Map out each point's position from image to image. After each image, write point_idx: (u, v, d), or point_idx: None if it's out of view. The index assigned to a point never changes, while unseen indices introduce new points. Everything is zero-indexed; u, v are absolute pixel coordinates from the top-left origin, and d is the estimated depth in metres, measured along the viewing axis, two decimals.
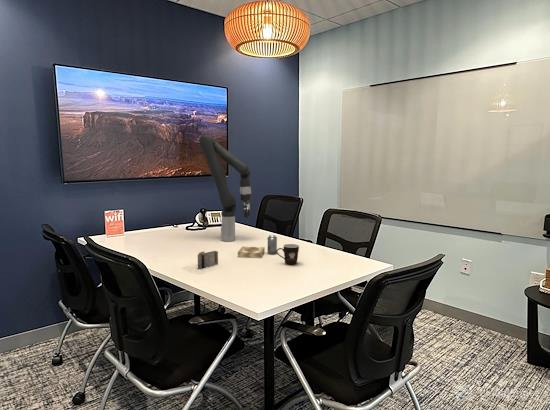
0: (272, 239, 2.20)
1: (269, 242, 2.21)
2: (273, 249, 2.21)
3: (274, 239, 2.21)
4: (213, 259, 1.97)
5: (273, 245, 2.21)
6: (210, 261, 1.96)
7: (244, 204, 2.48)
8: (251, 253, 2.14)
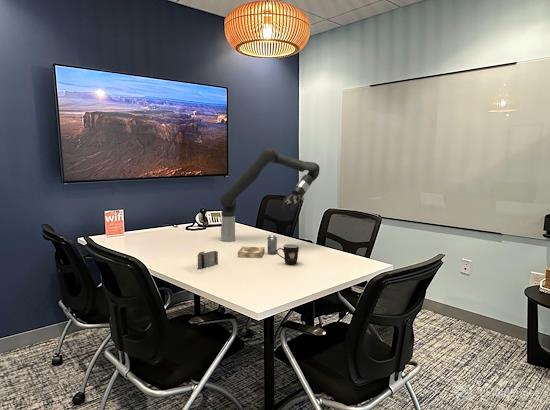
0: (272, 239, 2.20)
1: (269, 242, 2.21)
2: (273, 249, 2.21)
3: (274, 239, 2.21)
4: (213, 259, 1.97)
5: (273, 245, 2.21)
6: (210, 260, 1.96)
7: (302, 198, 2.26)
8: (251, 253, 2.14)
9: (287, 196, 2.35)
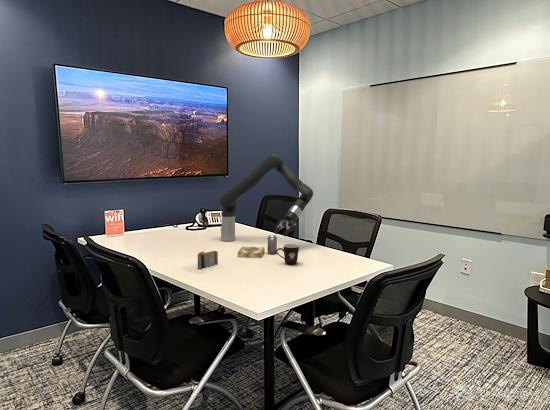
0: (272, 239, 2.20)
1: (269, 242, 2.21)
2: (273, 249, 2.21)
3: (274, 239, 2.21)
4: (213, 259, 1.97)
5: (273, 245, 2.21)
6: (210, 261, 1.96)
7: (295, 224, 2.24)
8: (251, 253, 2.14)
9: (280, 221, 2.33)
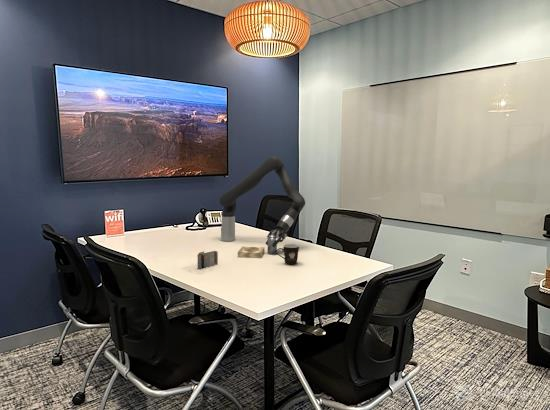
0: (272, 239, 2.20)
1: (269, 242, 2.21)
2: (273, 249, 2.21)
3: (274, 239, 2.21)
4: (213, 259, 1.97)
5: None
6: (210, 261, 1.96)
7: (285, 235, 2.20)
8: (251, 253, 2.14)
9: (271, 231, 2.29)
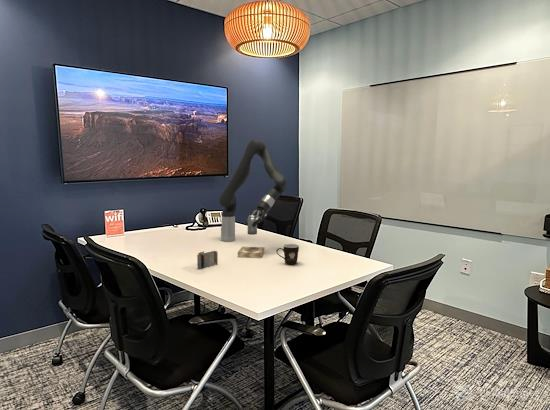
0: (252, 219, 2.16)
1: (249, 222, 2.17)
2: (253, 229, 2.17)
3: (254, 219, 2.16)
4: (213, 259, 1.97)
5: None
6: (210, 261, 1.95)
7: (265, 215, 2.16)
8: (251, 253, 2.14)
9: (251, 212, 2.25)
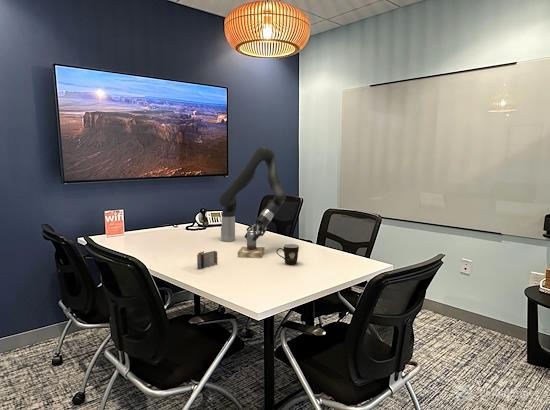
0: (251, 234, 2.17)
1: (248, 237, 2.18)
2: (252, 244, 2.18)
3: (253, 234, 2.17)
4: (212, 259, 1.97)
5: (252, 240, 2.18)
6: (210, 261, 1.95)
7: (265, 228, 2.17)
8: (251, 253, 2.14)
9: (251, 225, 2.26)
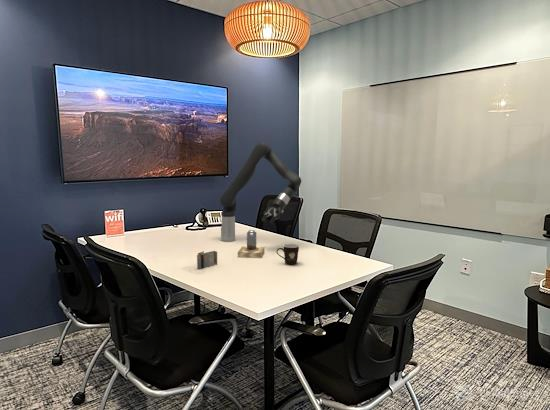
0: (251, 234, 2.17)
1: (248, 237, 2.18)
2: (252, 244, 2.18)
3: (253, 234, 2.17)
4: (212, 259, 1.97)
5: (252, 240, 2.18)
6: (210, 261, 1.95)
7: (282, 211, 2.25)
8: (251, 253, 2.14)
9: (268, 208, 2.33)
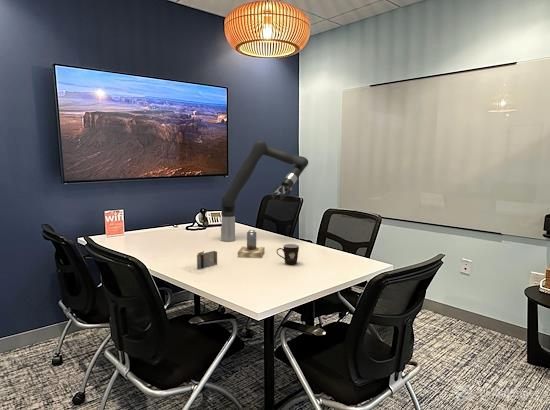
0: (251, 234, 2.17)
1: (248, 237, 2.18)
2: (252, 244, 2.18)
3: (253, 234, 2.17)
4: (212, 259, 1.97)
5: (252, 240, 2.18)
6: (209, 261, 1.95)
7: (290, 189, 2.44)
8: (251, 253, 2.14)
9: (277, 187, 2.53)
